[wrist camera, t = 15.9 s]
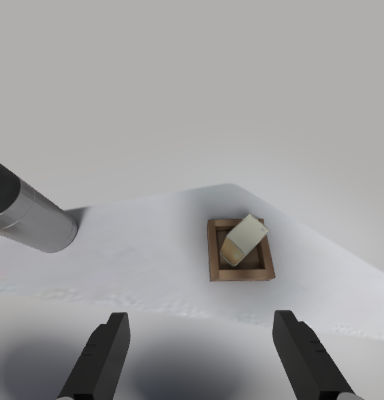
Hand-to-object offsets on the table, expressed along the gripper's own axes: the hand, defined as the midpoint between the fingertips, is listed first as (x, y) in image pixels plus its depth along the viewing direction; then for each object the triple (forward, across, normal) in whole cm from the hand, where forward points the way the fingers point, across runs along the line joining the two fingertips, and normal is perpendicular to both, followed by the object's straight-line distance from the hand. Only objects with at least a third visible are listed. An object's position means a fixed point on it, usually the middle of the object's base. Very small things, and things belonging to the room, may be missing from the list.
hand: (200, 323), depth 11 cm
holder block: (+30, -9, +13) cm, 34 cm away
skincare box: (+29, -9, +13) cm, 33 cm away
